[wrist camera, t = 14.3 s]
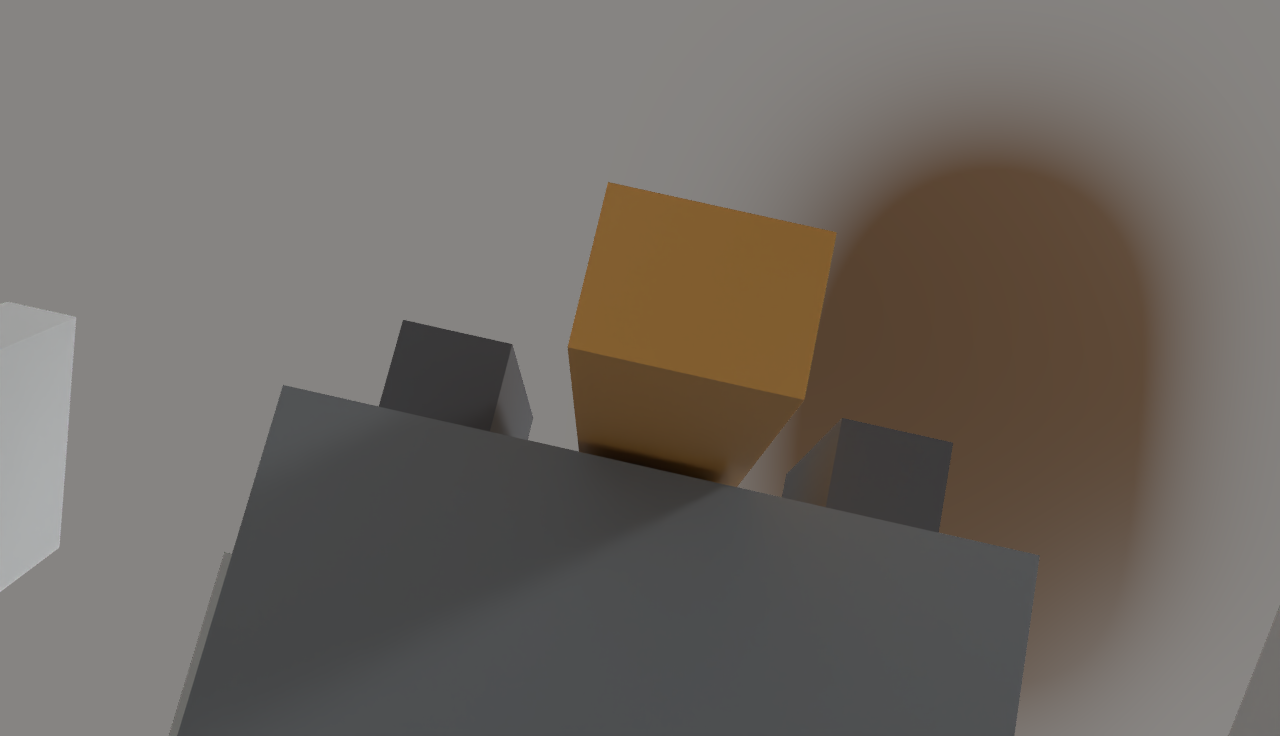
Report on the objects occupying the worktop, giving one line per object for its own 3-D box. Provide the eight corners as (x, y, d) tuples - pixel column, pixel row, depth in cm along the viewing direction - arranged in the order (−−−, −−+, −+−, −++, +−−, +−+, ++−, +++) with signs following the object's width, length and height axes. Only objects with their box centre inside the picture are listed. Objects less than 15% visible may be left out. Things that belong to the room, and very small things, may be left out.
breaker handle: (709, 522, 37) (729, 429, 38) (804, 400, 20) (836, 232, 21) (583, 493, 37) (605, 401, 38) (567, 347, 20) (607, 182, 21)
